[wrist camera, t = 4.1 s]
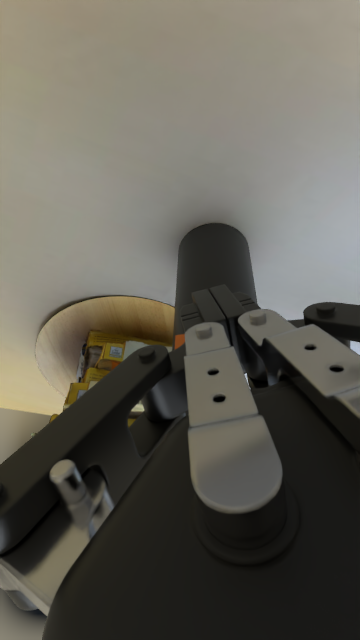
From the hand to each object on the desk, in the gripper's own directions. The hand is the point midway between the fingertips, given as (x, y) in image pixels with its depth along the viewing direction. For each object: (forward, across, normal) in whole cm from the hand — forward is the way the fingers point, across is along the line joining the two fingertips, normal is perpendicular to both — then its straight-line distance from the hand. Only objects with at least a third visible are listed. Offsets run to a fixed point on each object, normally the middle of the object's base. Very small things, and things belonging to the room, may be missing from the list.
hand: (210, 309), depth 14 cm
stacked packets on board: (+28, +9, +16) cm, 34 cm away
